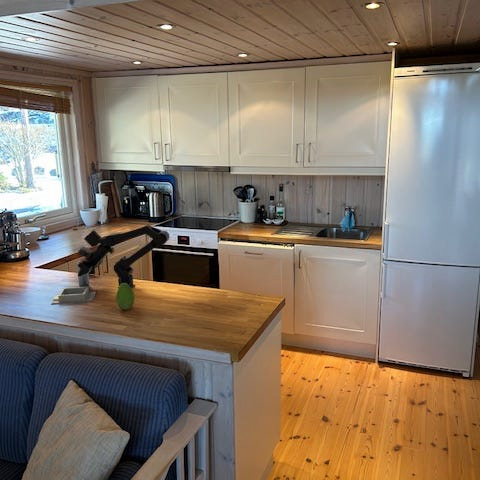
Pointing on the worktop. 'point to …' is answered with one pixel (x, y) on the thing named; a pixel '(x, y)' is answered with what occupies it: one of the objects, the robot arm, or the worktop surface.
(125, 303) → the avocado
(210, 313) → the worktop surface
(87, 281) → the big cell
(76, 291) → the tray
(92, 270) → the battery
